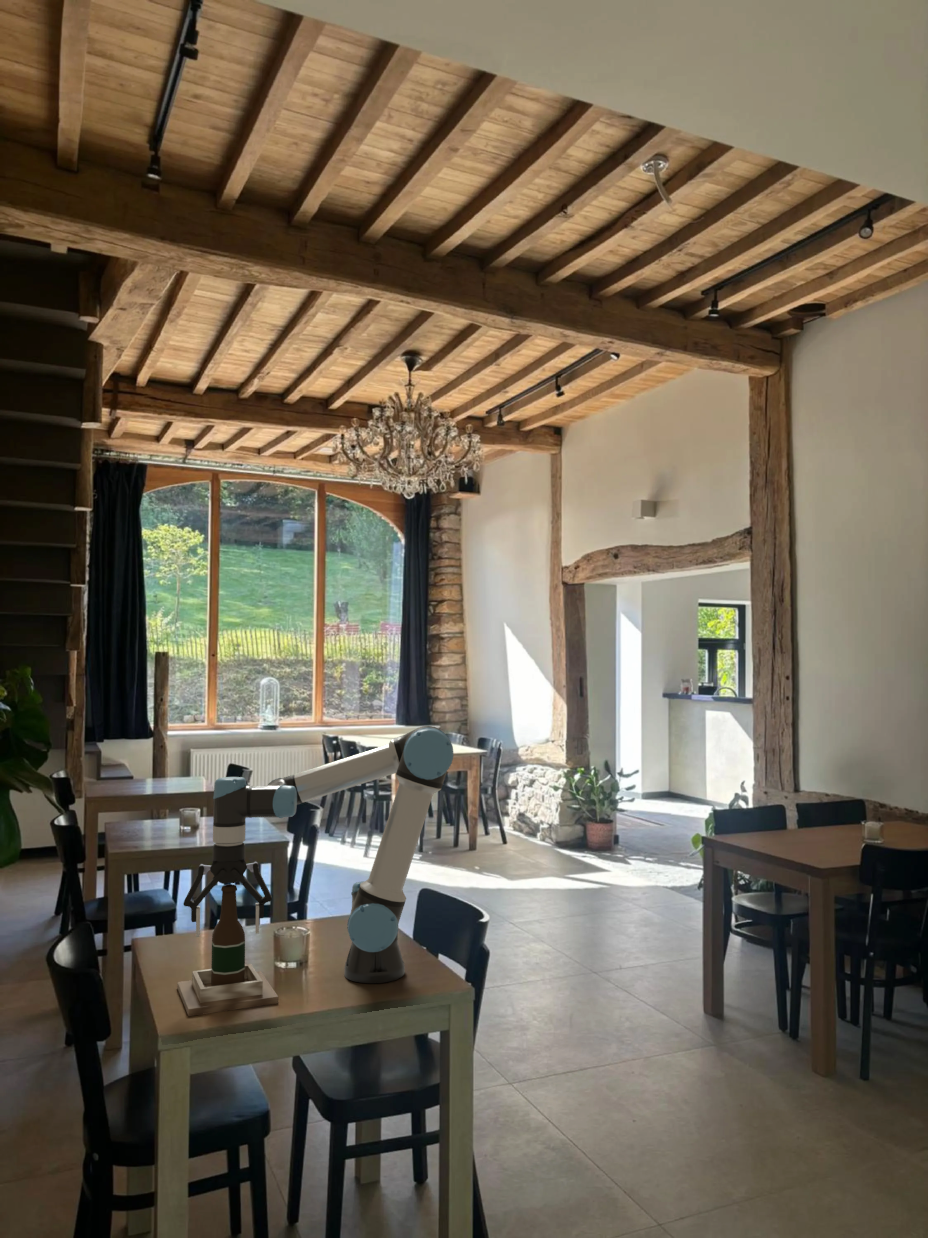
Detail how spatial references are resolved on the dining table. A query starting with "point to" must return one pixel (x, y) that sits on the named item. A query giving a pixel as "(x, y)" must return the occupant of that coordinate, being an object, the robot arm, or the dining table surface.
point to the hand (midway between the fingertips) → (227, 934)
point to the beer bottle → (228, 943)
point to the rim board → (225, 993)
